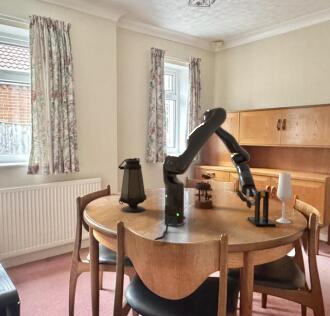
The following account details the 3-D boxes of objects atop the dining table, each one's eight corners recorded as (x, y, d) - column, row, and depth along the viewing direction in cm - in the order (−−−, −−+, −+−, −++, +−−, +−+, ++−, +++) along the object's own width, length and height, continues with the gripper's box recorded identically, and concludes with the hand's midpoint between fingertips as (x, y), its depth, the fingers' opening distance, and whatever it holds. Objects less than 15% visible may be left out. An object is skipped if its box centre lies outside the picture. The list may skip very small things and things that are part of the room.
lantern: (128, 215, 159) (127, 159, 157) (112, 209, 171) (112, 158, 169) (153, 209, 171) (153, 157, 168) (137, 204, 183) (137, 156, 180)
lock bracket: (247, 219, 150) (248, 188, 149) (265, 219, 150) (266, 188, 148) (256, 226, 138) (257, 193, 137) (275, 226, 138) (276, 193, 137)
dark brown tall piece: (204, 203, 186) (206, 171, 183) (217, 207, 177) (220, 175, 174) (186, 206, 178) (188, 173, 175) (199, 211, 169) (202, 177, 166)
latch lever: (248, 206, 156) (248, 200, 158) (255, 206, 156) (254, 200, 158) (260, 196, 141) (258, 190, 142) (266, 196, 141) (265, 190, 142)
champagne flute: (272, 220, 148) (274, 172, 146) (283, 218, 150) (284, 172, 148) (283, 224, 142) (285, 174, 140) (294, 222, 144) (296, 173, 142)
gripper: (235, 176, 162) (242, 203, 151) (261, 176, 162) (269, 203, 151) (232, 184, 168) (238, 211, 156) (257, 184, 167) (265, 211, 156)
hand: (253, 207), depth 154 cm, fingers closed on latch lever, 3 cm apart
